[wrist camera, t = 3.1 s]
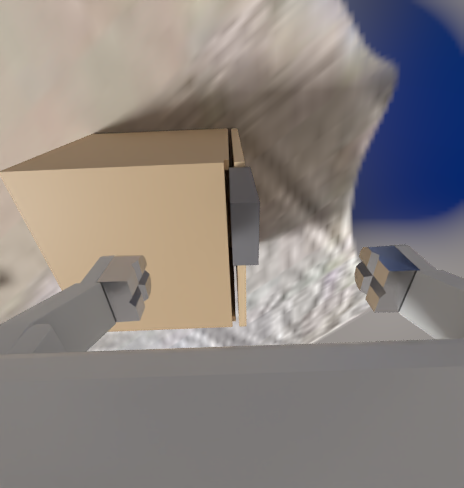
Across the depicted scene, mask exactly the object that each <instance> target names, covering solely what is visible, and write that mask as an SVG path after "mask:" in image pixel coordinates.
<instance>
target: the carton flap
mask: <svg viewBox="0 0 464 488" xmlns="http://www.w3.org/2000/svg"><path fill="white" fill-rule="evenodd" d="M231 143H232V168H229V178H230V207H231V230H232V253H233V266H236V272H237V291H238V310H239V326H246V265H258V258H259V217H260V201H259V197H258V194H257V190H256V186H255V183H254V179H253V175H252V172H251V168H250V167H245V160H244V156H243V151H242V147H241V143H240V138H239V134H238V129H237V128H235V129H231Z"/></svg>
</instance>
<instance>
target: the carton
mask: <svg viewBox="0 0 464 488" xmlns="http://www.w3.org/2000/svg"><path fill="white" fill-rule="evenodd" d="M0 177H1V178H2V180H3V182H4V184H5V186H6V188H7V190H8V191H9V193H10V195H11V197H12V199H13V201H14V203H15V204H16V206H17V208H18V210H19V212H20V214H21V216H22V217H23V219H24V221H25V223H26V225H27V227H28V228H29V230H30V232H31V234H32V236H33V238H34V240H35V241H36V243H37V245H38V247H39V249H40V251H41V253H42V254H43V256H44V258H45V260H46V262H47V264H48V266H49V267H50V269H51V271H52V273H53V275H54V277H55V278H56V280H57V282H58V284H59V286H60V288H61V290H62V291H63V290H64V289H66V288H68V287H70V286H72V285H74V284H75V283H81V281H82V280H83V279H84V277H85V276H86V275H87V274H88V272H89V271H90V270H91V268H92V267H93V266H94V264H95V263H96V262H97V261H98V259H99V258H100V257H102V256H114V255H115V256H117V255H143V256H144V257H145V259H146V262H147V266H146V268H145V270H146V271H147V272H148V273H149V274H150V278H151V293H150V296H149V298H148V299H147V300H146V301H144V304H145V309H144V312H143V314H142V317H141V319H140V321H129V322H116V324H115V325H114V326H113V327H112V328H111V329H110V330H109V331H108V332H113V331H138V330H163V329H188V328H213V327H232V321H236V316H235V290H234V266H233V253H232V230H231V207H230V178H229V145H228V128H223V129H200V130H176V131H153V132H130V133H106V134H91V135H89V136H86V137H84V138H81V139H79V140H76V141H74V142H71V143H69V144H66V145H64V146H61V147H59V148H56V149H54V150H51V151H49V152H47V153H44V154H42V155H39V156H37V157H34V158H32V159H29V160H27V161H24V162H22V163H19V164H17V165H14V166H12V167H10V168H7V169H5V170H2V171H0Z"/></svg>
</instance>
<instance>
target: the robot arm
mask: <svg viewBox="0 0 464 488" xmlns="http://www.w3.org/2000/svg"><path fill="white" fill-rule="evenodd" d="M359 258H360V259H361V261H362V262H361V263H359V264H358V265H357V266H356V270H355V281H356V284H357V287H358V288H359V290H360V291H362V292H363V293H365V294H367V296H366V300H367V302H368V304H369V305H370V307H371V308H372V310H373V311H374V312H399V314H401V315H402V316H404V317H405V318H406V319H408V320H409V321H410V322H412V323H413V324H415V325H416V326H418V327H419V328H421V329H422V330H424V331H425V332H426V333H428V334H429V335H430V336H432V337H433V338H435V339H434V340H406V341H380V342H379V341H376V342H348V343H346V342H345V343H315V344H287V345H260V346H232V347H204V348H176V349H147V350H119V351H90V352H86V351H87V350H88V349H89V348H90V347H91V346H93V345H94V344H95V343H96V342H97V341H98V340H99V339H100V338H101V337H102V336H103V335H104V334H105V333H107V332H108V331H109V330H110V329H111V328H112V327H113V326H114V325H115V324H116V322H129V321H140V319H141V317H142V314H143V312H144V309H145V304H144V301H146V300H147V299H148V298H149V296H150V293H151V278H150V274H149V273H148V272H147V271H146V270H145V268H146V266H147V262H146V259H145V257H144V256H143V255H117V256H115V255H114V256H102V257H100V258H99V259H98V261H97V262H96V263H95V264H94V266H93V267H92V268H91V270H90V271H89V272H88V274H87V275H86V276H85V277H84V279H83V280H82V281H81V283H75V284H74V285H72V286H70V287H68V288H66V289H64V290H63V291H61V292H59V293H57V294H55V295H53V296H52V297H50V298H48V299H46V300H44V301H42V302H41V303H39V304H37V305H35V306H33V307H31V308H30V309H28V310H26V311H24V312H22V313H20V314H19V315H17V316H15V317H13V318H11V319H9V320H8V321H6V322H4V323H2V324H0V488H464V278H461V277H459V276H456V275H454V274H451V273H448V272H446V271H443V270H437V269H436V268H434V267H433V266H432V265H431V264H430V263H428V262H427V261H426V260H425V259H424V258H423V257H422V256H420V255H419V254H418V253H417V252H416V251H414V250H413V249H412V248H411V247H410V246H408V245H391V246H377V247H363V248H362V250H361V251H360V255H359Z"/></svg>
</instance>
